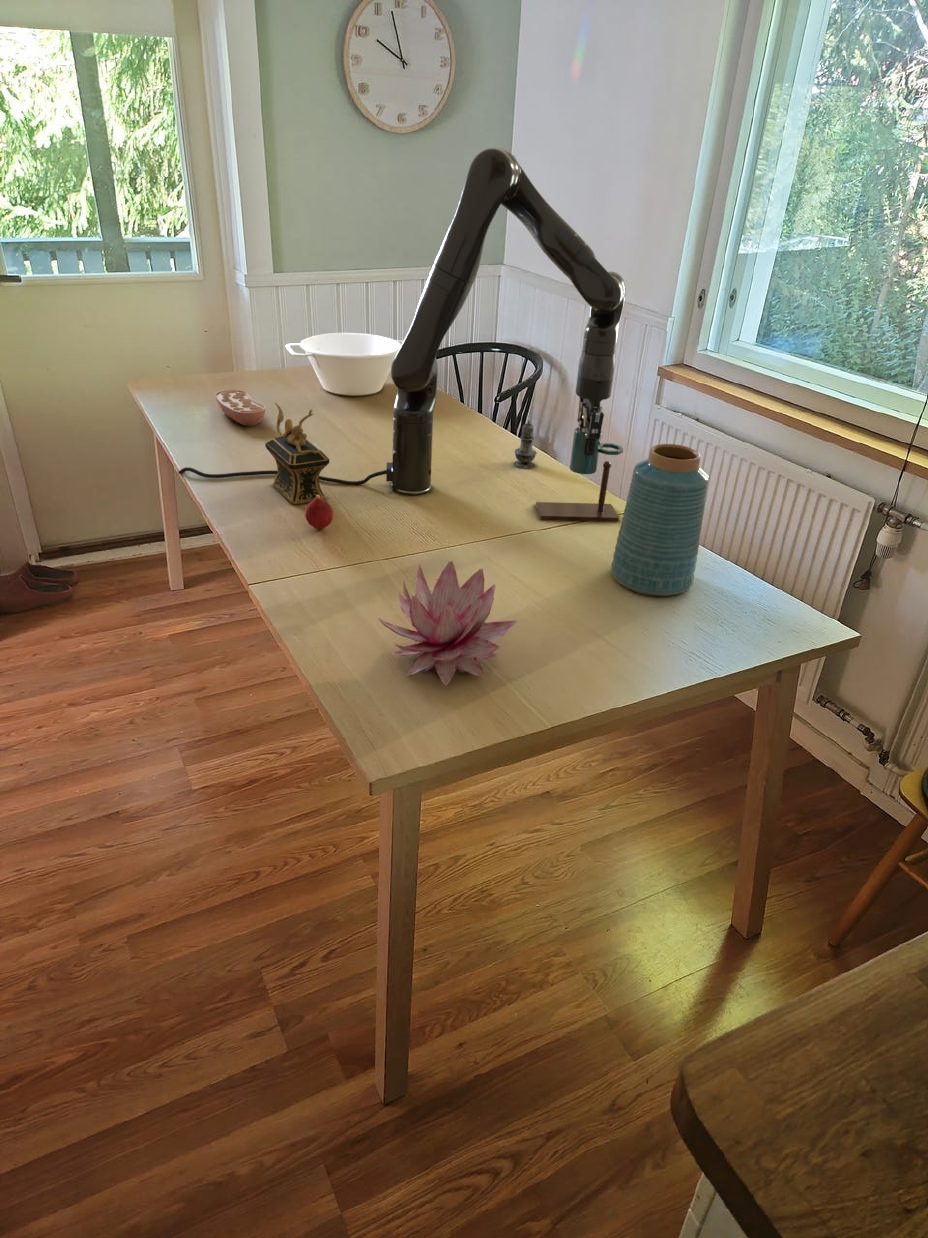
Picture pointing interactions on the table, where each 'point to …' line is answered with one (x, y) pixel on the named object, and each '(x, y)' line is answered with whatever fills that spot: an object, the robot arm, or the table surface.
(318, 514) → the onion
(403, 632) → the decorative flower
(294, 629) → the table surface
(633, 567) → the vase
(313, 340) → the pot
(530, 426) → the grey chess piece
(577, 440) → the mug
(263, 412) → the anatomical model
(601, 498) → the mug stand
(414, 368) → the robot arm
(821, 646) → the table surface
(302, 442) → the decorative box
